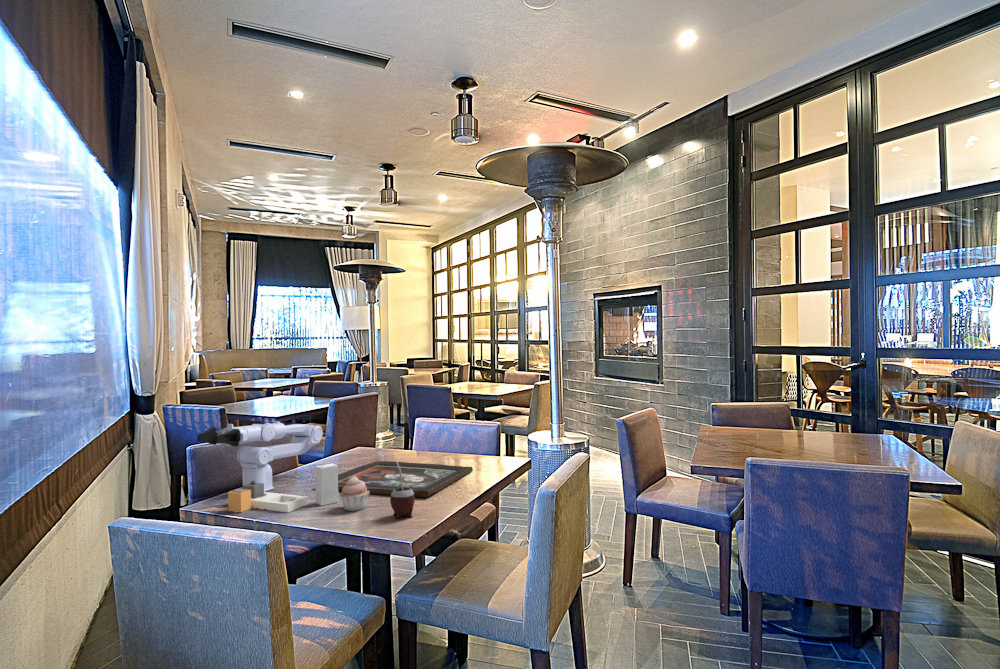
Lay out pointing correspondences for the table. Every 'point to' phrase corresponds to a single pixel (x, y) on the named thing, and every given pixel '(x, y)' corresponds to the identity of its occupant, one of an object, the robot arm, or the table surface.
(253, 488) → the twin plug
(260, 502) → the white recessed tray
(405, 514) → the mate gourd
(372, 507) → the table surface
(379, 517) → the table surface
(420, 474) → the religious icon
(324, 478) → the skincare box
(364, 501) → the cupcake
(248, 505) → the orange block
